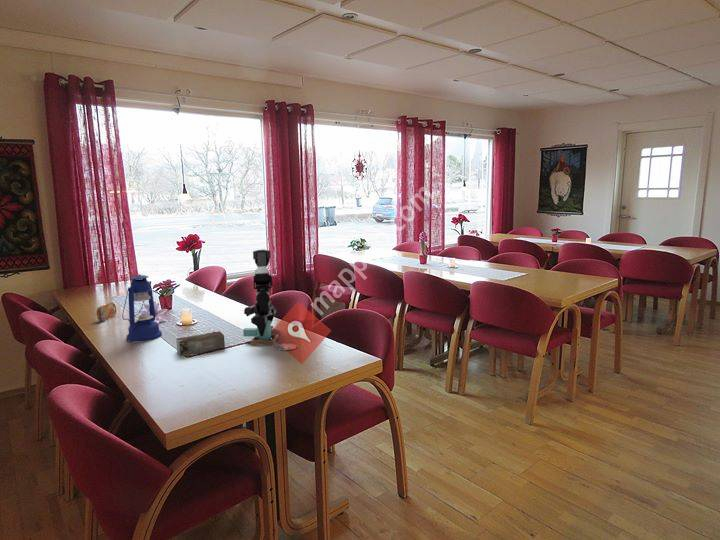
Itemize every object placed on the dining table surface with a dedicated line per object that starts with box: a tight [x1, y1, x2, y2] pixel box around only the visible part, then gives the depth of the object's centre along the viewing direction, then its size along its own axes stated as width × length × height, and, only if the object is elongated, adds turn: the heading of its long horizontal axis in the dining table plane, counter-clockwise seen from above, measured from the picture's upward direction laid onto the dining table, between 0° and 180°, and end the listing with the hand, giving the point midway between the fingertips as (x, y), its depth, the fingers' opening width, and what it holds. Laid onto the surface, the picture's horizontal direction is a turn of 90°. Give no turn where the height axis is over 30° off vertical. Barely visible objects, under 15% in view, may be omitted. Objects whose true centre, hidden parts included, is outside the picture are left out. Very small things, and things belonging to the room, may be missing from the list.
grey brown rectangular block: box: [175, 330, 226, 357], centre depth 200 cm, size 8×19×7 cm, turn 121°
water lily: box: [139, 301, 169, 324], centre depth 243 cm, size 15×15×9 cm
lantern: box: [122, 274, 162, 342], centre depth 216 cm, size 17×15×30 cm
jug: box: [242, 320, 273, 341], centre depth 209 cm, size 12×6×10 cm, turn 88°
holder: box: [250, 333, 280, 346], centre depth 209 cm, size 10×10×2 cm
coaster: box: [276, 342, 291, 351], centre depth 201 cm, size 9×9×1 cm
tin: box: [96, 302, 117, 322], centre depth 250 cm, size 15×3×8 cm, turn 179°
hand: (264, 333), depth 209 cm, fingers open, 9 cm apart
